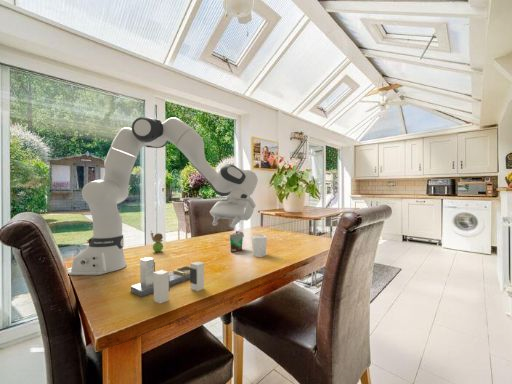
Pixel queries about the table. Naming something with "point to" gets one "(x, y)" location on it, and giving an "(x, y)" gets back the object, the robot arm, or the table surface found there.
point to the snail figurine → (157, 242)
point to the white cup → (259, 245)
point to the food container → (236, 241)
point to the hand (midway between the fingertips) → (222, 225)
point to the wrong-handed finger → (161, 286)
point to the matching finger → (197, 276)
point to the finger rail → (151, 288)
